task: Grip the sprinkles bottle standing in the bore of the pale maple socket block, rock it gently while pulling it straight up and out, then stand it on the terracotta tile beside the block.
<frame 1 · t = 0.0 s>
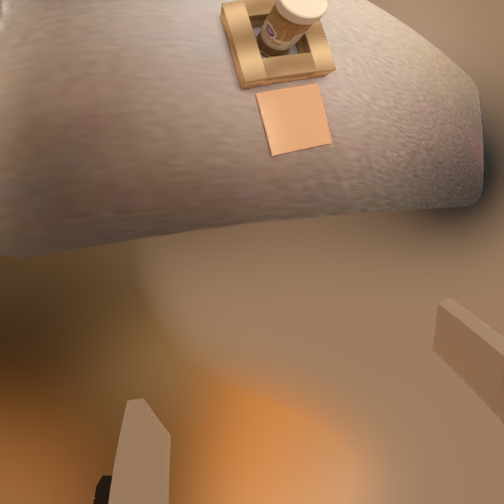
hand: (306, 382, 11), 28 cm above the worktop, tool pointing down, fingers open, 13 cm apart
socket block: (273, 44, 31), on the worktop
sprinkles bottle: (272, 44, 31), resting in socket block
terracotta tile: (294, 118, 34), on the worktop
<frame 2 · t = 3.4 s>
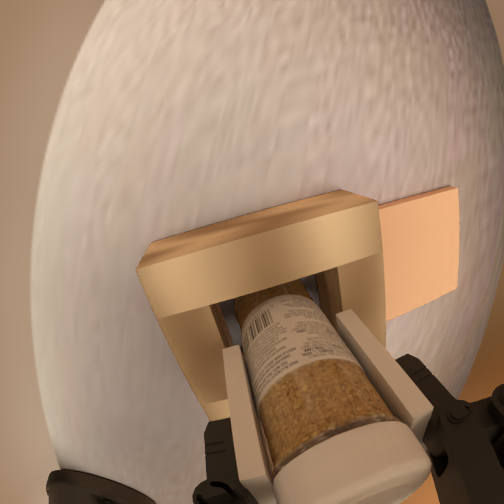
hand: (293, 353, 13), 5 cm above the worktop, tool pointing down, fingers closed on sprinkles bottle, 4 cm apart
socket block: (271, 301, 18), on the worktop
sprinkles bottle: (270, 300, 18), resting in socket block, touching gripper
terracotta tile: (414, 252, 18), on the worktop
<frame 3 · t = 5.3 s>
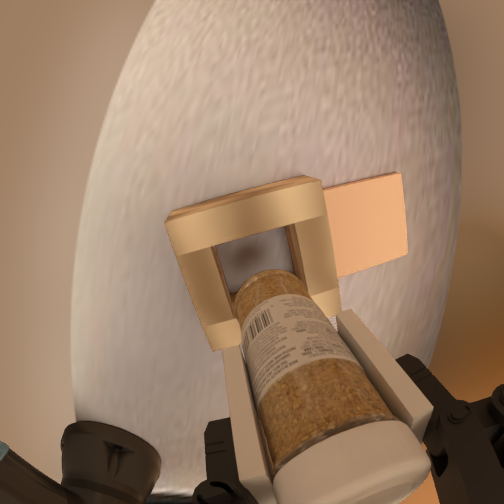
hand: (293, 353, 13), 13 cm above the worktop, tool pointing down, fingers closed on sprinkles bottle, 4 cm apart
socket block: (255, 255, 25), on the worktop
sprinkles bottle: (270, 299, 18), point 8 cm above the worktop, touching gripper
terracotta tile: (366, 223, 26), on the worktop
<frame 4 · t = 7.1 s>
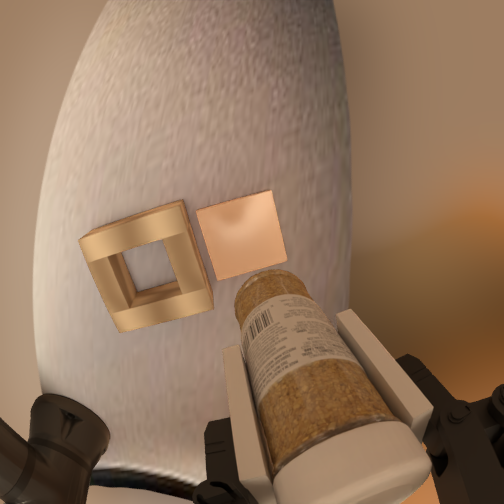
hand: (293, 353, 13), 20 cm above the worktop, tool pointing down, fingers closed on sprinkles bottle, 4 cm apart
socket block: (151, 261, 32), on the worktop
sprinkles bottle: (270, 299, 18), point 15 cm above the worktop, touching gripper
terracotta tile: (242, 235, 32), on the worktop
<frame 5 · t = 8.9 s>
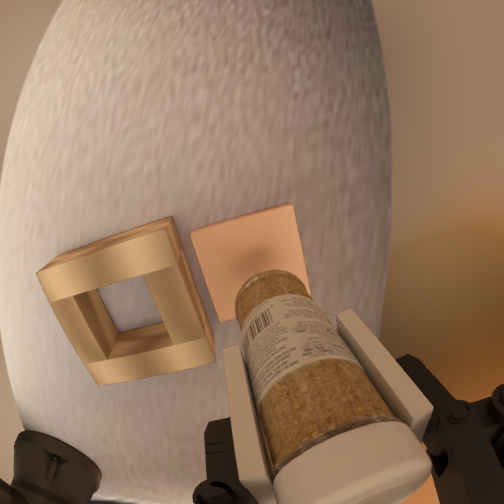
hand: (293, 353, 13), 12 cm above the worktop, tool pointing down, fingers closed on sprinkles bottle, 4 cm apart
socket block: (133, 297, 24), on the worktop
sprinkles bottle: (270, 299, 18), point 7 cm above the worktop, touching gripper
terracotta tile: (252, 263, 24), on the worktop
when the fingers open (7 cm above the worktop, at t = 10.7 s): sprinkles bottle drops 1 cm, resting on terracotta tile.
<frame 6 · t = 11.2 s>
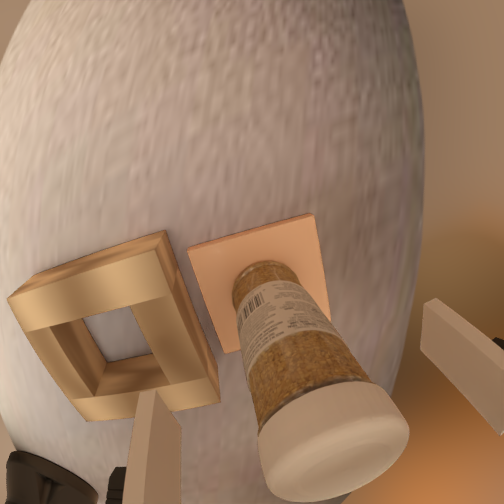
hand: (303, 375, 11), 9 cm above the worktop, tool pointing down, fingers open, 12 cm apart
socket block: (122, 324, 19), on the worktop
sprinkles bottle: (265, 290, 19), point 1 cm above the worktop, touching terracotta tile
terracotta tile: (264, 285, 20), on the worktop
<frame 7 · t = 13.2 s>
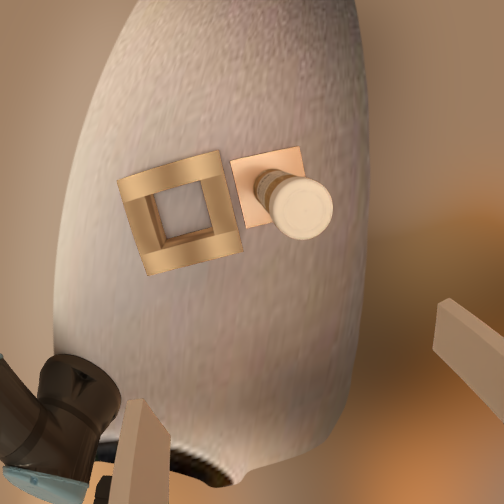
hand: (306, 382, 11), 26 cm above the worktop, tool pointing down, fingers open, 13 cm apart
socket block: (183, 208, 34), on the worktop
sprinkles bottle: (272, 187, 34), point 1 cm above the worktop, touching terracotta tile
terracotta tile: (271, 186, 34), on the worktop
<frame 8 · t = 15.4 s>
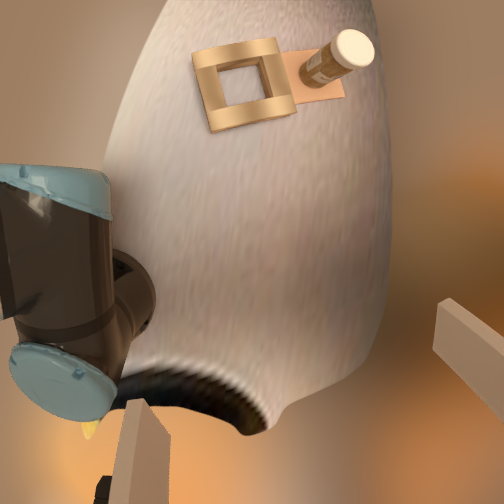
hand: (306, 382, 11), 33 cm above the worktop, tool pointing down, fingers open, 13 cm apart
socket block: (241, 87, 36), on the worktop
sprinkles bottle: (312, 74, 36), point 1 cm above the worktop, touching terracotta tile
terracotta tile: (311, 75, 37), on the worktop
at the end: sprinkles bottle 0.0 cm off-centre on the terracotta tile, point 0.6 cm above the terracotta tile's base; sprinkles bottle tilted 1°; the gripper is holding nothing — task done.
